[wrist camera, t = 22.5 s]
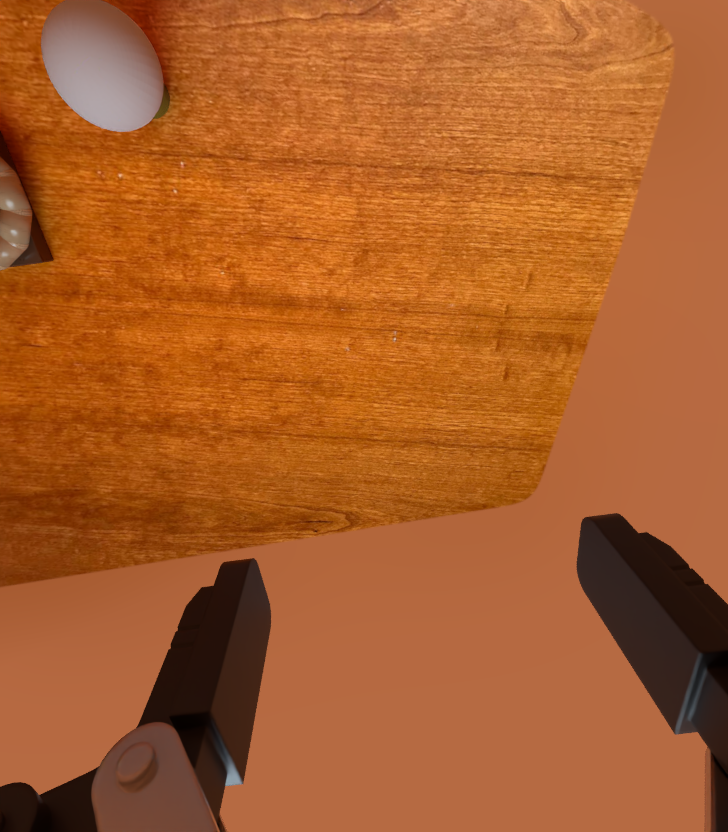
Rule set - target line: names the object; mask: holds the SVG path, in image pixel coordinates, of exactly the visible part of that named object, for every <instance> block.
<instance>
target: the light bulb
mask: <svg viewBox="0 0 728 832" xmlns="http://www.w3.org/2000/svg"><path fill="white" fill-rule="evenodd" d="M41 49H42V55H43V61H44V64H45V67H46V70H47V73H48V75H49V77H50V80H51V81H52V83H53V85H54V87H55V89H56V90H57V92H58V93H59V94H60V96H61V97H62V98H63V100H64V101H65V102H66V103H67V104H68V105H69V106H70V107H71V108H72V109H73V110H74V111H75V112H76V113H77V114H79V115H80V116H81V117H83V118H84V119H86V120H87V121H89V122H90V123H92V124H94V125H96V126H99V127H101V128H104V129H107V130H111V131H118V132H125V131H132V130H136V129H139V128H141V127H143V126H145V125H146V124H147V123H149V122H150V121H151V120H152V119H157V118H160V117H162V116H163V115H164V114H165V113H166V112H167V110H168V108H169V104H170V98H169V93H168V90H167V88H166V86H165V84H164V83H163V74H162V69H161V65H160V62H159V59H158V56H157V54H156V52H155V50H154V48H153V46H152V44H151V42H150V41H149V39H148V38H147V36H146V35H145V33H144V32H143V31H142V30H141V28H140V27H139V26H138V25H137V24H136V23H135V22H134V21H133V20H132V19H131V18H130V17H129V16H128V15H126V14H125V13H124V12H122V11H121V10H120V9H118V8H116V7H114V6H113V5H111V4H109V3H107V2H104V1H101V0H66V1H64V2H62V3H60V4H58V5H57V6H56V7H55V8H54V9H53V10H52V11H51V13H50V14H49V15H48V17H47V19H46V21H45V23H44V27H43V30H42V38H41Z"/></svg>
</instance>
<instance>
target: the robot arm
mask: <svg viewBox="0 0 728 832" xmlns="http://www.w3.org/2000/svg"><path fill="white" fill-rule="evenodd" d="M577 573H578V578H579V581H580V584H581V586H582V588H583V590H584V592H585V594H586V595H587V597H588V598H589V600H590V602H591V603H592V605H593V606H594V608H595V609H596V611H597V612H598V614H599V616H600V617H601V619H602V620H603V622H604V624H605V625H606V627H607V628H608V630H609V631H610V633H611V634H612V636H613V638H614V639H615V641H616V642H617V644H618V646H619V647H620V648H621V650H622V651H623V653H624V655H625V657H626V658H627V660H628V661H629V663H630V664H631V666H632V668H633V669H634V671H635V672H636V674H637V675H638V677H639V679H640V680H641V681H642V683H643V685H644V686H645V688H646V689H647V691H648V693H649V694H650V696H651V697H652V699H653V700H654V702H655V704H656V705H657V707H658V708H659V710H660V711H661V713H662V715H663V716H664V718H665V719H666V721H667V722H668V724H669V726H670V727H671V729H672V730H673V732H674V733H675V734H683V733H692V732H698V733H699V734H700V736H701V737H702V739H703V740H704V742H705V743H706V745H707V746H708V747H707V749H706V753H705V832H728V604H727V603H726V602H725V601H724V600H723V599H722V598H721V597H720V596H719V595H718V594H717V593H716V592H715V591H714V590H713V589H712V588H711V587H710V586H709V585H708V584H705V583H704V580H703V579H702V578H701V577H700V576H699V575H698V574H697V573H696V572H695V571H694V570H693V569H690V568H689V565H688V564H687V563H686V562H685V561H684V560H683V559H682V557H680V555H679V554H677V553H676V551H675V550H674V549H673V548H672V547H671V546H669V545H667V544H666V543H664V542H662V541H661V540H659V539H657V538H656V537H654V536H652V535H650V534H649V533H647V532H646V533H638V532H637V531H636V530H635V529H633V527H632V526H631V525H630V524H629V523H628V522H627V520H626V519H625V518H624V517H623V516H621V515H620V514H617V513H616V514H607V515H600V516H592V517H585V518H584V519H583V520H582V523H581V531H580V539H579V548H578V557H577ZM270 627H271V610H270V603H269V600H268V596H267V593H266V590H265V587H264V583H263V580H262V576H261V573H260V570H259V567H258V564H257V561H256V560H255V559H254V558H252V559H244V560H237V561H229V562H224V563H223V564H222V565H221V566H220V569H219V572H218V575H217V578H216V580H215V584H214V586H209V587H202V588H201V589H200V590H199V591H198V593H197V594H196V595H195V596H194V597H193V598H192V600H191V601H190V602H189V603H188V604H187V606H186V608H185V610H184V613H183V615H182V618H181V620H180V623H179V625H178V631H176V632H175V635H174V638H173V640H172V642H171V649H169V650H168V653H167V655H166V658H165V660H164V663H163V665H162V668H161V670H160V672H159V675H158V678H157V680H156V682H155V685H154V687H153V690H152V693H151V695H150V697H149V700H148V702H147V705H146V707H145V710H144V712H143V715H142V717H141V720H140V722H139V724H138V726H137V728H136V729H134V730H132V731H131V732H129V733H128V734H126V735H125V736H124V737H123V738H121V739H120V740H119V741H118V742H117V743H116V744H115V745H114V746H113V747H112V749H111V750H110V751H109V752H108V753H107V755H106V756H105V758H104V759H103V760H102V762H101V764H100V766H99V767H97V768H96V769H94V770H92V771H90V772H88V773H86V774H84V775H82V776H80V777H77V778H75V779H73V780H71V781H69V782H67V783H64V784H62V785H60V786H58V787H56V788H54V789H51V790H49V791H47V792H45V793H43V794H41V795H38V793H37V792H36V791H35V790H34V789H33V788H32V787H31V786H30V785H28V784H26V783H21V782H19V783H11V784H7V785H4V786H2V787H0V832H227V829H226V827H225V825H224V822H223V820H222V817H221V815H220V808H221V803H222V798H223V793H224V789H225V786H230V785H238V784H243V781H244V776H245V770H246V765H247V759H248V753H249V747H250V742H251V735H252V730H253V725H254V719H255V713H256V708H257V702H258V696H259V691H260V685H261V679H262V673H263V667H264V662H265V656H266V650H267V645H268V639H269V633H270Z"/></svg>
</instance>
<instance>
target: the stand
mask: <svg viewBox="0 0 728 832" xmlns="http://www.w3.org/2000/svg"><path fill="white" fill-rule="evenodd" d="M0 157H1V158H2V159H3V160H4V161H5V162H6V163H7V164H8V165H9V166H10V167H11V168H12V169H13V170H14V171H15V172H16V174H17V175H18V173H17V170H16V168H15V166H14V163H13V161H12V158H11V156H10V153H9V151H8V149H7V146H6V144H5V141H4V139H3V136H2V134H1V131H0ZM18 178H19V175H18ZM19 180H20V178H19ZM20 182H21V180H20ZM21 185H22V183H21ZM22 187H23V185H22ZM23 190H24V188H23ZM24 192H25V190H24ZM25 195H26V192H25ZM26 197H27V195H26ZM27 200H28V197H27ZM28 202H29V200H28ZM29 205H30V202H29ZM30 207H31V205H30ZM31 210H32V207H31ZM49 261H53V258H52V256H51V253H50V251H49V249H48V246H47V244H46V241H45V239H44V236H43V234H42V231H41V229H40V227H39V224H38V222H37V219H36V217H35V214H34V212H33V210H32V223H31V232H30V242H29V246H28V248H27V249H26V250H25V251H24V252H23V253H22V254H21V255H20V256H19V257H18V258H17V259H16V260H15V261H14V262H13V263H12V264H11V265H10V266H9V267H14V266H21V265H29V264H36V263H43V262H49Z"/></svg>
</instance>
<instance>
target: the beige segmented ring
mask: <svg viewBox="0 0 728 832" xmlns="http://www.w3.org/2000/svg"><path fill="white" fill-rule="evenodd" d="M31 223H32V210H31V207H30V205H29V202H28V200H27V197H26V195H25V192H24V190H23V187H22V185H21V182H20V180H19V178H18V175H17V174H16V172H15V171H14V170H13V169H12V168H11V167H10V166H9V165H8V164H7V163H6V162H5V161H4V160H3V159H2V158H1V157H0V270H3V269H6V268H8V267H9V266H10V265H11V264H12V263H13V262H14V261H15V260H16V259H17V258H18V257H19V256H20V255H21V254H22V253H23V252H24V251H25V250H26V249H27V248H28V246H29V242H30V232H31Z"/></svg>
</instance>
